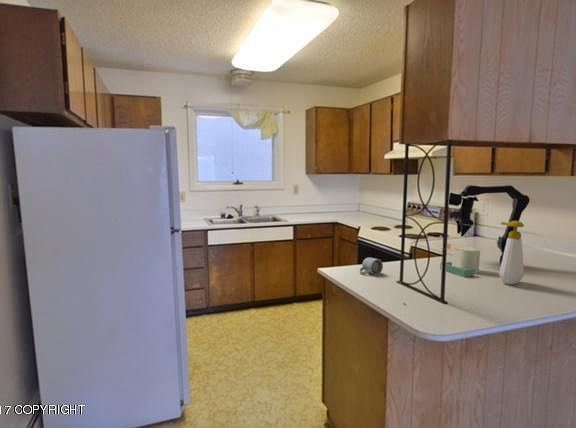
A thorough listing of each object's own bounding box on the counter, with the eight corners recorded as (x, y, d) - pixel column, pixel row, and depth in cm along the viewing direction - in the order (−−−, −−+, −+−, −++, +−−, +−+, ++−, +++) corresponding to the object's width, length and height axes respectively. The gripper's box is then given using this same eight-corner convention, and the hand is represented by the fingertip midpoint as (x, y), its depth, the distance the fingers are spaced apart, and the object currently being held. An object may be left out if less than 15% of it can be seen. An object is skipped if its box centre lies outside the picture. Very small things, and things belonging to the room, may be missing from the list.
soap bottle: (503, 277, 171) (509, 218, 168) (527, 283, 163) (533, 220, 159) (489, 281, 165) (494, 219, 161) (513, 288, 156) (518, 222, 152)
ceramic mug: (372, 269, 183) (372, 255, 182) (383, 273, 176) (383, 258, 175) (355, 272, 179) (356, 257, 178) (366, 276, 171) (366, 261, 170)
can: (478, 274, 176) (480, 250, 175) (457, 271, 181) (459, 248, 180) (479, 270, 184) (481, 247, 183) (459, 267, 189) (461, 245, 188)
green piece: (449, 268, 187) (451, 241, 186) (473, 275, 174) (475, 246, 172) (439, 269, 185) (441, 242, 183) (463, 277, 171) (465, 247, 170)
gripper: (448, 203, 206) (442, 229, 209) (454, 206, 188) (447, 234, 191) (468, 207, 204) (462, 233, 206) (476, 210, 186) (469, 239, 188)
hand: (460, 234), depth 198 cm, fingers open, 9 cm apart
